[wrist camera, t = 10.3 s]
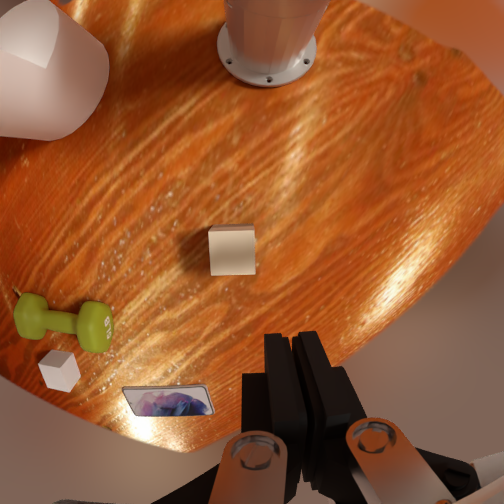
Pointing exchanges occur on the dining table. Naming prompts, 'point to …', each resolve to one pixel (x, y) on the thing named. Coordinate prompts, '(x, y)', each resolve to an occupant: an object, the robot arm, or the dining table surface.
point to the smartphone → (169, 400)
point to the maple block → (232, 249)
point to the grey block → (59, 370)
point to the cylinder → (47, 72)
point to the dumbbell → (65, 322)
